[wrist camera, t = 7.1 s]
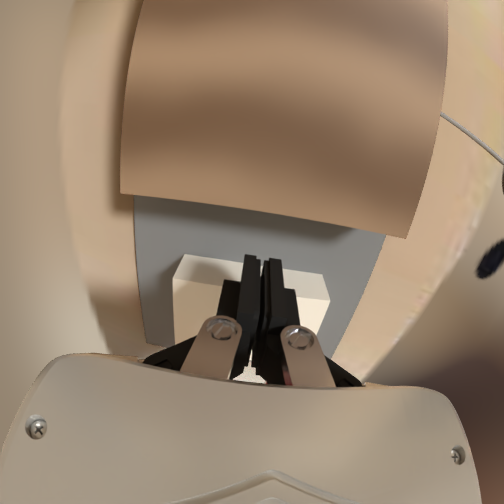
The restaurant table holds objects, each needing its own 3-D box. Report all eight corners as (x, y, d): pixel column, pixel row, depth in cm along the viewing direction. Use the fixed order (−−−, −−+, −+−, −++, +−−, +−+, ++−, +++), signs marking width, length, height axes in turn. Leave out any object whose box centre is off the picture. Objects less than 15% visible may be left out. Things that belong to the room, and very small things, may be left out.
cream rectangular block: (175, 348, 18) (184, 321, 20) (302, 365, 18) (299, 337, 20) (172, 278, 15) (184, 253, 17) (330, 300, 15) (322, 274, 18)
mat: (136, 180, 15) (134, 181, 15) (388, 221, 16) (390, 223, 16) (147, 340, 22) (146, 342, 22) (325, 364, 22) (326, 367, 22)
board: (205, -84, 5) (194, -113, 2) (411, -43, 6) (437, -62, 3) (150, 174, 15) (120, 193, 11) (377, 210, 16) (405, 238, 12)
